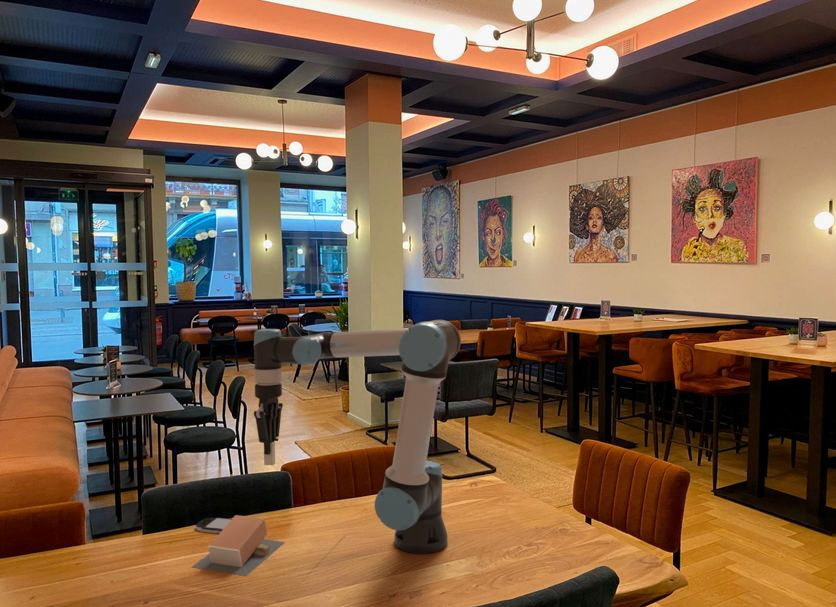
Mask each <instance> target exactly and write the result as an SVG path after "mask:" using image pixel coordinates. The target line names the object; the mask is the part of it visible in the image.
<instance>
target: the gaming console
mask: <svg viewBox="0 0 836 607" xmlns="http://www.w3.org/2000/svg"><path fill="white" fill-rule="evenodd" d="M232 519H233V518H227V517H207V518H204V519H201V520H200V521H198V522H197V523H196V524H195V530H196V531H198V532H202V533H209V534H219V533H220V532H221V531H222V530H223V529H224V528H225V527H226V526H227V524H228V523H229V522H230V521H231V520H232Z"/></svg>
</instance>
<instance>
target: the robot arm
mask: <svg viewBox="0 0 836 607" xmlns="http://www.w3.org/2000/svg"><path fill="white" fill-rule="evenodd" d="M253 335H254V337H253V338H254V339H253V352H254V353H253V354H254V355H253V356H254V371H253V374H254V383H255V384H254V397H255V398H257V399H258V400H259V402H258V409H257V410H254V412H253V417H254V418H255V422H256V429H257V436H258V442H259V443H261V444H262V443H263V464H264V466H275V465H276V442H278V441H279V437H280V430H281V419H282V418H281V417H282V411H283V407H284V405H283V404H284V403H283V402H279V398H280V397H282V394H283V391H282V390H283V386H282V385H283V384H282V383H281V382H282V381H283V378H282V377H283V375H282V364H290V365H292V364H294V365H303V366H306V365H315V364H316V363H317V362H318V361H319V360H320V359H321V360H322V359H334V358H335V359H336V358H356V357H357V358H359V357H360V358H361V357H364V358H365V357H387V356H399V357H400V359H401V360H402V364H401V365H402V366H401V372H402V374H403V375H404V376H405V384H404V390H403V394H402V395H403V396H402V403H401V407H400V408H401V409H400V414H399V422H398V427H397V434H396V440H395V447H394V454H393V458H392V465H390V466H389V467H388V468H387V469H385V473H384V479H383V480H384V481H383V485H382V489H381V490H379V491H378V493H377V494H376V496H375V499H374V511H375V514H376V516H377V518H378V519H379V520H380V522H381V523H382V524H383V525H384V526H385V527H387V528H389V529H391V530H395V531H394V545H395V546H396V547H397V548H398V549H399V550H402V551H403V552H407V553H412V554H422V555H423V554H430V553H431V554H432V553H436V552H439V551H442V550H443V549H444V548H446V547H447V545H448V532H447V529H446V525H445V522H444V518H443V515H442V514H443V512H442V511H443V510H442V507H443V506H442V504H443V497H442V496H443V468H442V466H441V465H440V464H439V463H438V462H435V461H430V460H427V458H428V453H429V446H430V441H431V440H430V439H431V435H432V434H431V433H432V428H433V423H434V422H433V421H434V415H435V410H436V403H437V398H438V392H439V387H440V386H439V384H440V383H441V382H442V381H443V380H446V378H447V374H448V367H449V361H450V360H452V359H453V358H455V356H457V354H458V352H459V351H460V349H461V346H462V345H461V343H462V342H461V341H462V339H461V335H460V332H459V330H458V328H457V327H456V325H454V324H453V323H451V322H450V321H448V320H444V319H434V320H429V321H420V322H417V323H415V324H413V325H411V326H410V327H405V328H404V327H402V328H387V329H371V330H354V331H339V332H336V331H335V332H329V331H327V332H326V331H322V332H319V333H314V334H308V335H302V336H282V332H281V330H280V328H279V329H278V328H262V329H257V330H255V331H254V334H253Z"/></svg>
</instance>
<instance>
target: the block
mask: <svg viewBox="0 0 836 607" xmlns="http://www.w3.org/2000/svg"><path fill="white" fill-rule="evenodd" d="M231 519H232V520H231V521H230V522H229V523H228V524H227V526H226V527H225V528H224V529H223V530H222V531H221V532H220V533H218V535H217V536H215V538H214V539H213V540H212V541H211V542H210V544H209V545H208V546H207V548H208V552H209V554H210V559H211V563H218V564H224V565H230V566H236V567H242V566H243V565H244V564H245V562H246V561H247V560H248V558H249V557H250V556H251V554H252V553H253V552H254V551H255V549H256V548H257V547H258V545H259V544H260V543H261V541H262V540H263V539H265V538H266V537H267V535H268V532H267V526H266V522H265V518H260V517H253V516H246V515H238V514H237V515H236V514H235V515H234V516H233V517H232V518H231ZM209 554H208V555H209Z"/></svg>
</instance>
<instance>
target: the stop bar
mask: <svg viewBox="0 0 836 607" xmlns="http://www.w3.org/2000/svg"><path fill="white" fill-rule="evenodd" d="M268 553H269V545H263V544H259V545H258V547H257V548H256V549H255V551H254V552H253V553H252V554H256V555H262V556H266V555H267V554H268Z"/></svg>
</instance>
